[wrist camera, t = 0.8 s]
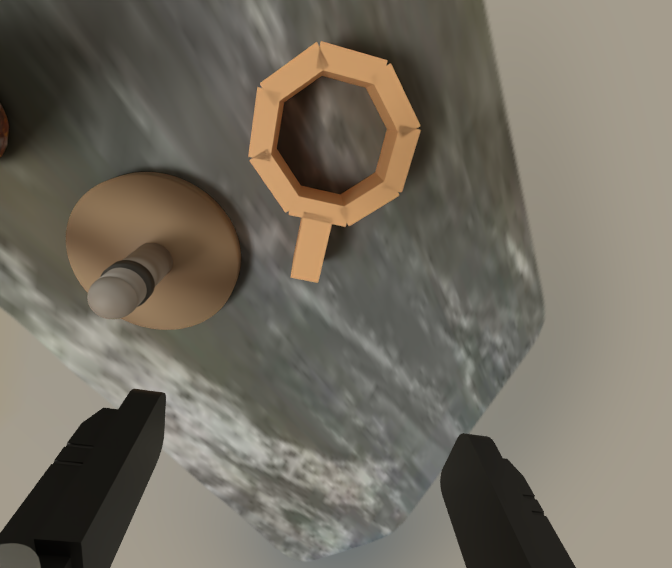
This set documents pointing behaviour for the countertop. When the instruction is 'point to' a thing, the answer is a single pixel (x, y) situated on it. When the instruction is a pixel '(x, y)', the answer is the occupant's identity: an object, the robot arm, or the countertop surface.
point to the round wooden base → (153, 251)
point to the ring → (318, 204)
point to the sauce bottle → (3, 130)
